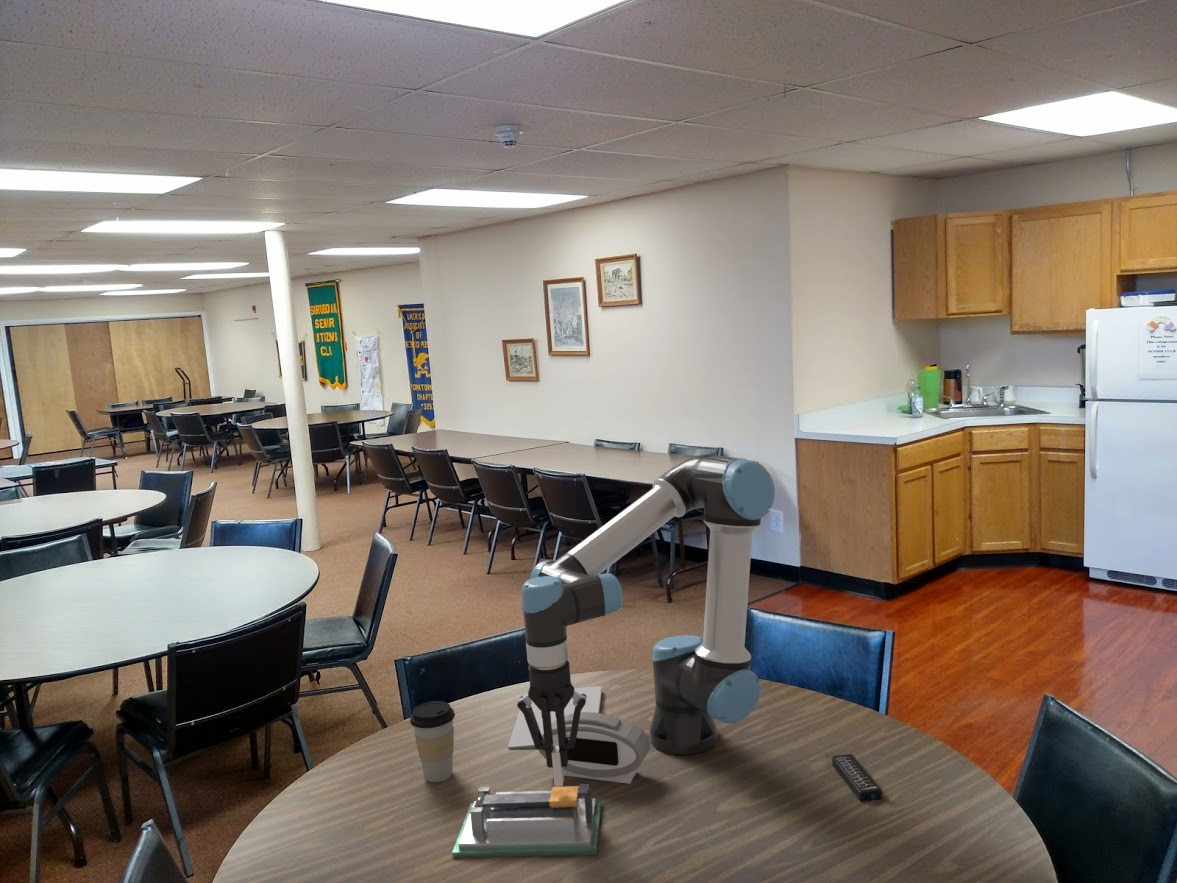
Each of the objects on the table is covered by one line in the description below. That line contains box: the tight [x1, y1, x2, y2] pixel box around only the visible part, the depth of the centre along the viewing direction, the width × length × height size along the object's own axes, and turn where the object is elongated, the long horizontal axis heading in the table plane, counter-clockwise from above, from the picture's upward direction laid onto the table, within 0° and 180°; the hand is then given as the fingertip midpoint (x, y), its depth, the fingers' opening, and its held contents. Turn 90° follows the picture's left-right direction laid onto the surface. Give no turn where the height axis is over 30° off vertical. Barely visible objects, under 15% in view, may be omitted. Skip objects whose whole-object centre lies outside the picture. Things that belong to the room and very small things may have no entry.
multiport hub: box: [831, 753, 883, 803], centre depth 171 cm, size 4×14×2 cm, turn 6°
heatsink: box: [451, 783, 602, 858], centre depth 162 cm, size 26×16×8 cm, turn 86°
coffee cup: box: [409, 700, 456, 783], centre depth 184 cm, size 9×9×15 cm
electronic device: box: [507, 685, 603, 750], centre depth 208 cm, size 29×20×2 cm
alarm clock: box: [538, 712, 652, 784], centre depth 180 cm, size 23×6×13 cm, turn 70°
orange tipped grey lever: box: [474, 785, 579, 808], centre depth 162 cm, size 19×5×2 cm, turn 86°
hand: (559, 782), depth 161 cm, fingers closed
